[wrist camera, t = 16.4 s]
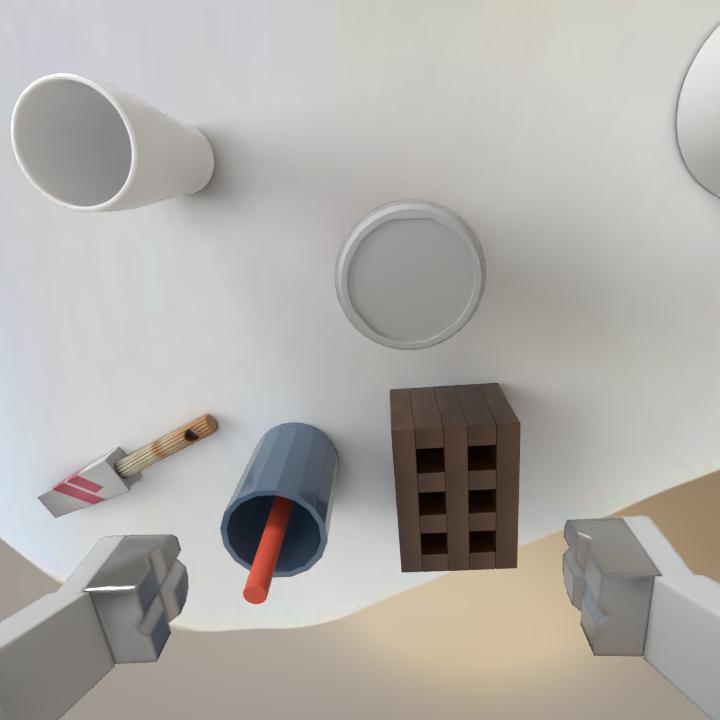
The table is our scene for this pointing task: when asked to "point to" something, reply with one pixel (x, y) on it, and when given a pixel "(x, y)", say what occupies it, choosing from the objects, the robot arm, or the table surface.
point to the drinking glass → (104, 146)
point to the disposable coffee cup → (410, 274)
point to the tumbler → (289, 480)
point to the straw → (268, 552)
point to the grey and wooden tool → (119, 470)
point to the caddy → (456, 477)
